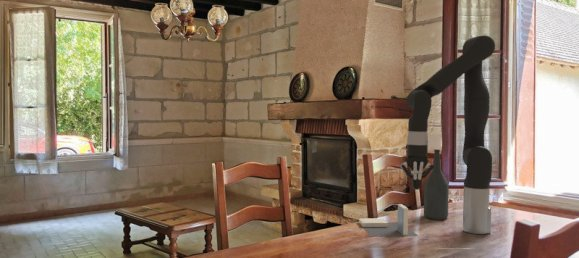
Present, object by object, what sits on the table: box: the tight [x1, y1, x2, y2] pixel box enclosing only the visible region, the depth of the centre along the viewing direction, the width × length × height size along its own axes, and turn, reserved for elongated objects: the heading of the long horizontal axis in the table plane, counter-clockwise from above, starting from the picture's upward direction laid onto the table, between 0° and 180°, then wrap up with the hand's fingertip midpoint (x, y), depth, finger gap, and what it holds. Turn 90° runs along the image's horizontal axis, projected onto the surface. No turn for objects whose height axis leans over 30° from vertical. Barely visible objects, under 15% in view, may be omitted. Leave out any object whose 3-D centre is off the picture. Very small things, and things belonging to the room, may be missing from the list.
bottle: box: [423, 149, 450, 221], centre depth 203 cm, size 10×10×30 cm
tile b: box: [397, 203, 409, 235], centre depth 176 cm, size 2×8×10 cm, turn 2°
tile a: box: [358, 217, 388, 228], centre depth 188 cm, size 2×8×10 cm
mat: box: [360, 221, 419, 238], centre depth 181 cm, size 18×22×1 cm
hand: (416, 189), depth 176 cm, fingers closed
